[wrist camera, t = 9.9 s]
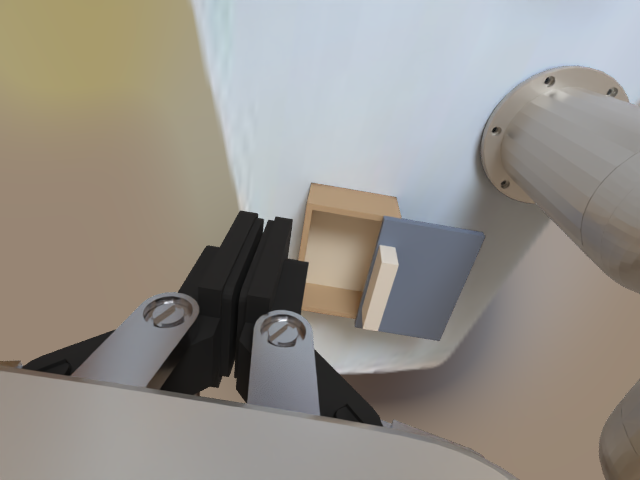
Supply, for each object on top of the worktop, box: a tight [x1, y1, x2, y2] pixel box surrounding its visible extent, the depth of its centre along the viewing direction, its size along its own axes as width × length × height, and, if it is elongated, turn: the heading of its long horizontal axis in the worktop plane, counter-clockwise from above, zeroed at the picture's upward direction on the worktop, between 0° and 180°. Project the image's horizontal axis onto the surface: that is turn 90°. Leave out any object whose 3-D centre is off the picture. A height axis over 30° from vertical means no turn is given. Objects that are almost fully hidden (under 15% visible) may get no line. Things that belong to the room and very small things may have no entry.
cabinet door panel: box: [355, 216, 485, 341], centre depth 37 cm, size 9×13×4 cm
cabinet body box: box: [298, 183, 402, 319], centre depth 41 cm, size 9×13×5 cm
